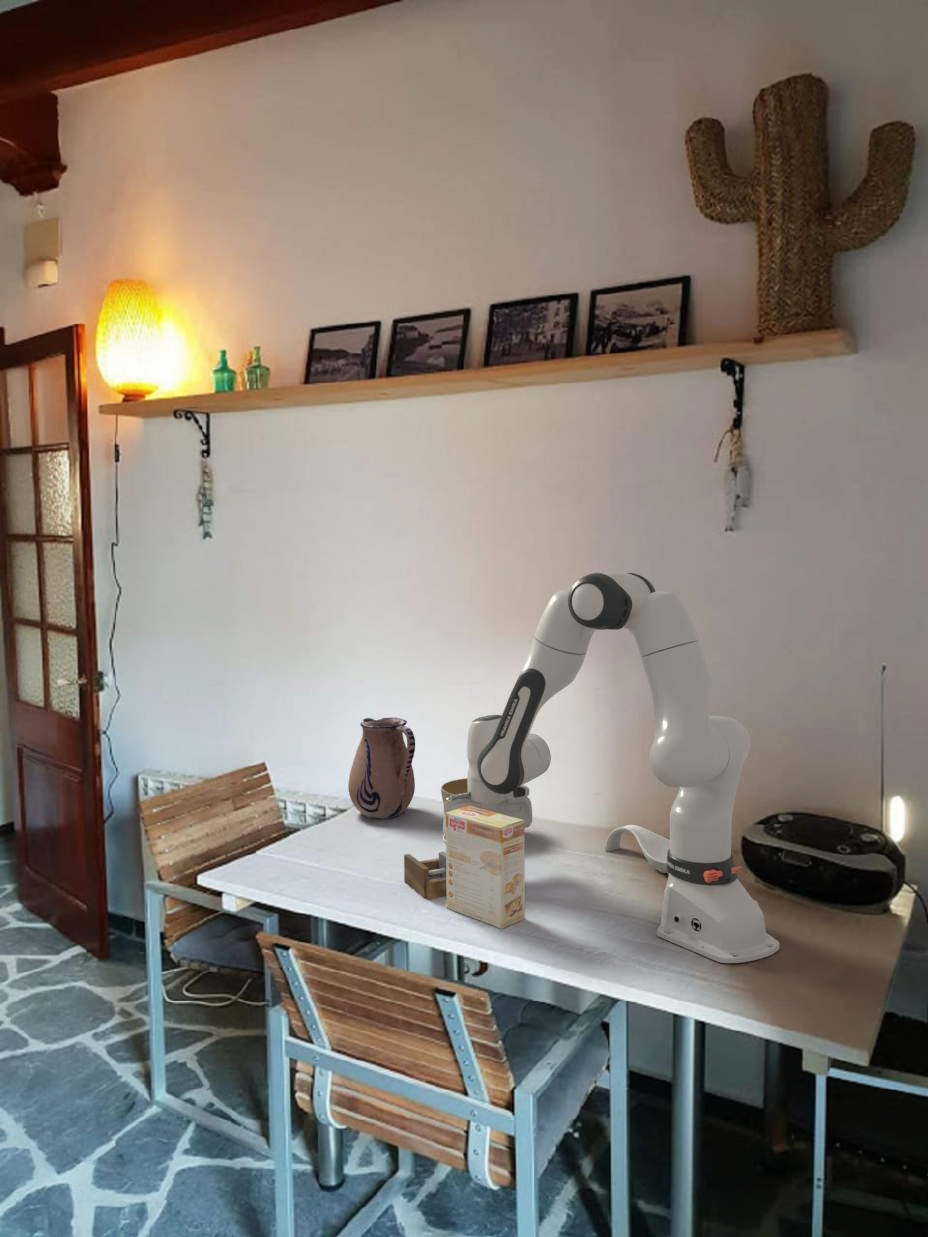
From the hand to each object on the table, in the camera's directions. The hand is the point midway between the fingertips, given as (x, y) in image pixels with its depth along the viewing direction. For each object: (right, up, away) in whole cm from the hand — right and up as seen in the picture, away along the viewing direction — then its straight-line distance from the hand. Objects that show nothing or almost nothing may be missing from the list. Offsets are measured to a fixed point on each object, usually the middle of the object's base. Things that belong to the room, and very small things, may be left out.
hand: (488, 852), depth 204 cm
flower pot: (-2, -3, +28) cm, 28 cm away
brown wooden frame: (-6, -5, -4) cm, 9 cm away
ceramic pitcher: (-25, -1, +45) cm, 51 cm away
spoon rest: (+36, -5, +7) cm, 37 cm away
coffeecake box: (-1, -7, -20) cm, 22 cm away
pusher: (-10, -5, -5) cm, 12 cm away
